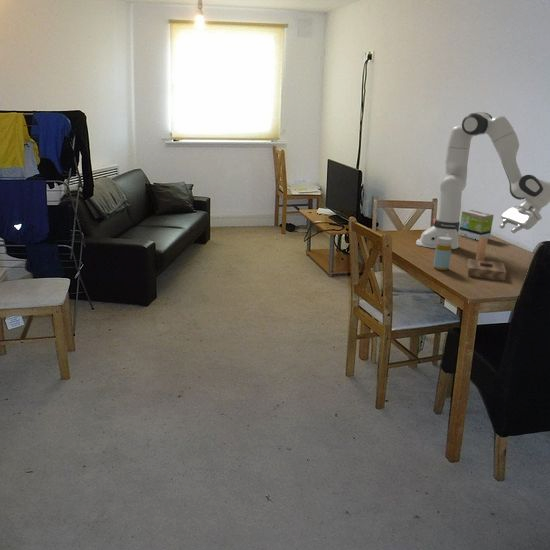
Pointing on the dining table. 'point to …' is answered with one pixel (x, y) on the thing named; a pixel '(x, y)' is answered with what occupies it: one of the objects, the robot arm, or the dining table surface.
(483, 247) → the peg
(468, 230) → the tea box
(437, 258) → the bottle
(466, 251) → the dining table surface
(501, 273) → the socket block
